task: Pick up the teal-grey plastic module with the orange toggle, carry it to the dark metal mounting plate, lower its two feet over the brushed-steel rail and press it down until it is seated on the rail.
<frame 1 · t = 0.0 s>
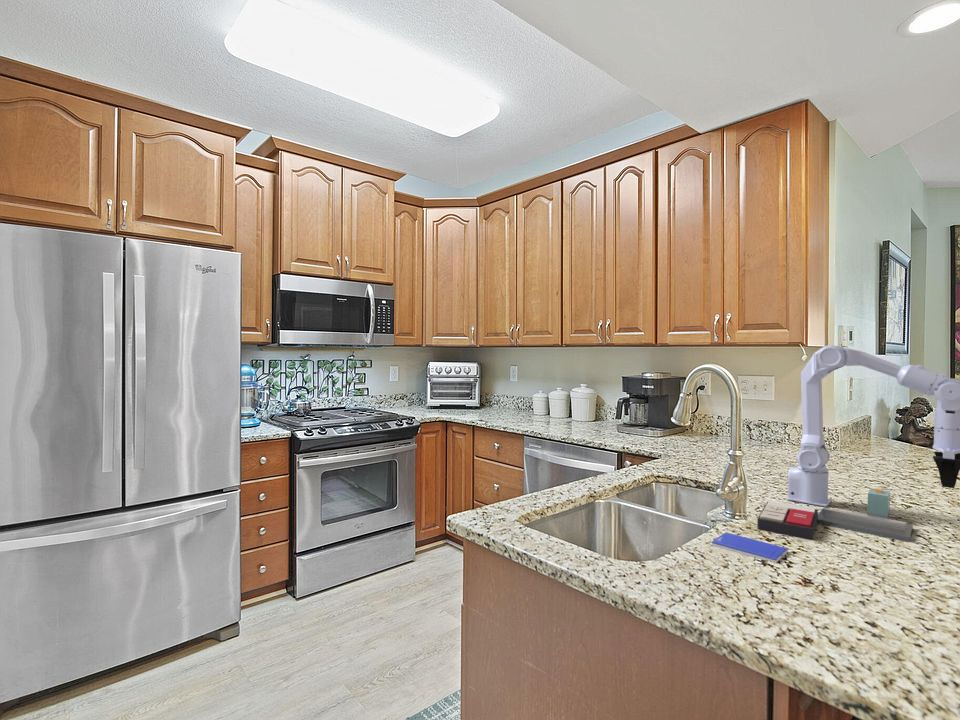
hand: (948, 484, 124), 10 cm above the worktop, fingers open, 7 cm apart
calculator: (787, 528, 123), on the worktop
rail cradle: (862, 525, 124), on the worktop
hard drive: (749, 552, 108), on the worktop
module: (878, 516, 131), on the worktop
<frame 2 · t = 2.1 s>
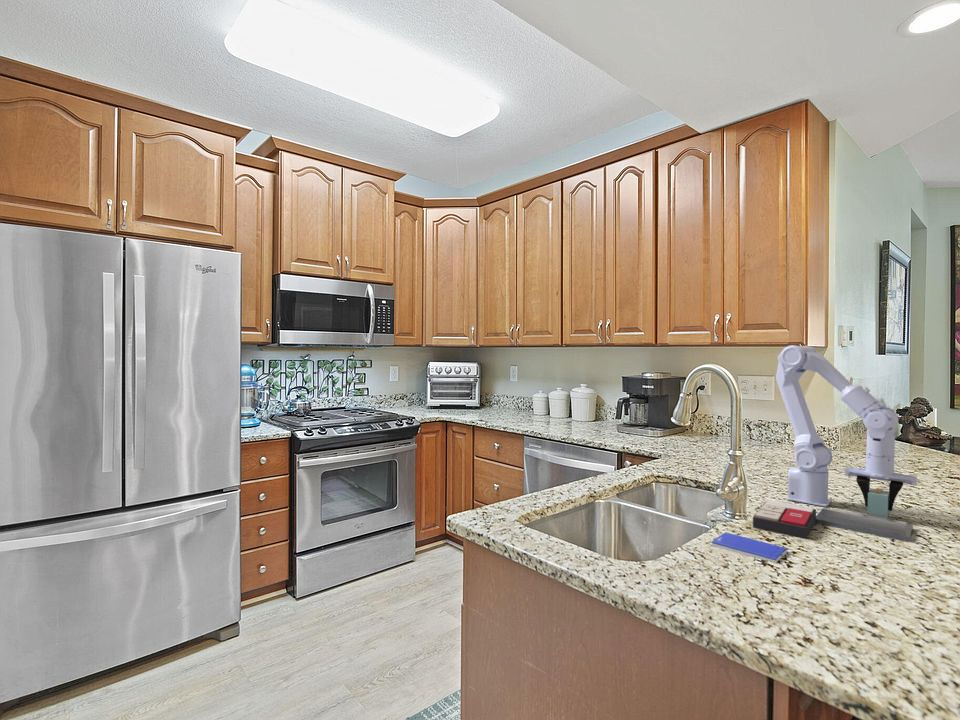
hand: (878, 508, 131), 2 cm above the worktop, fingers closed on module, 4 cm apart
module: (878, 516, 131), on the worktop, touching gripper
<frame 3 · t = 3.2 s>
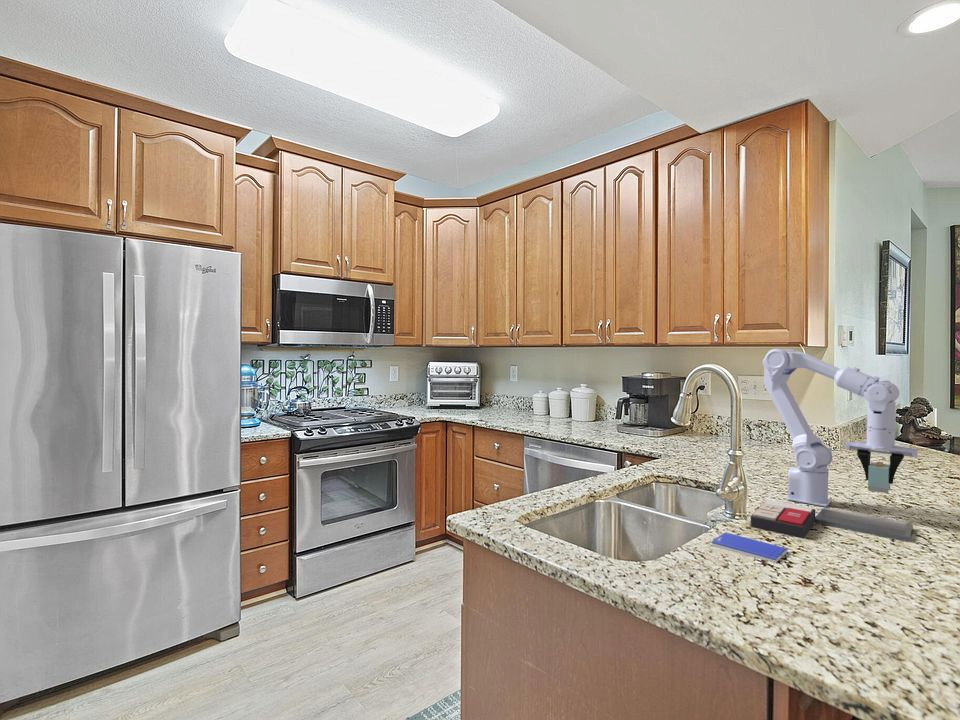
hand: (879, 481, 131), 9 cm above the worktop, fingers closed on module, 4 cm apart
module: (879, 489, 131), point 7 cm above the worktop, touching gripper
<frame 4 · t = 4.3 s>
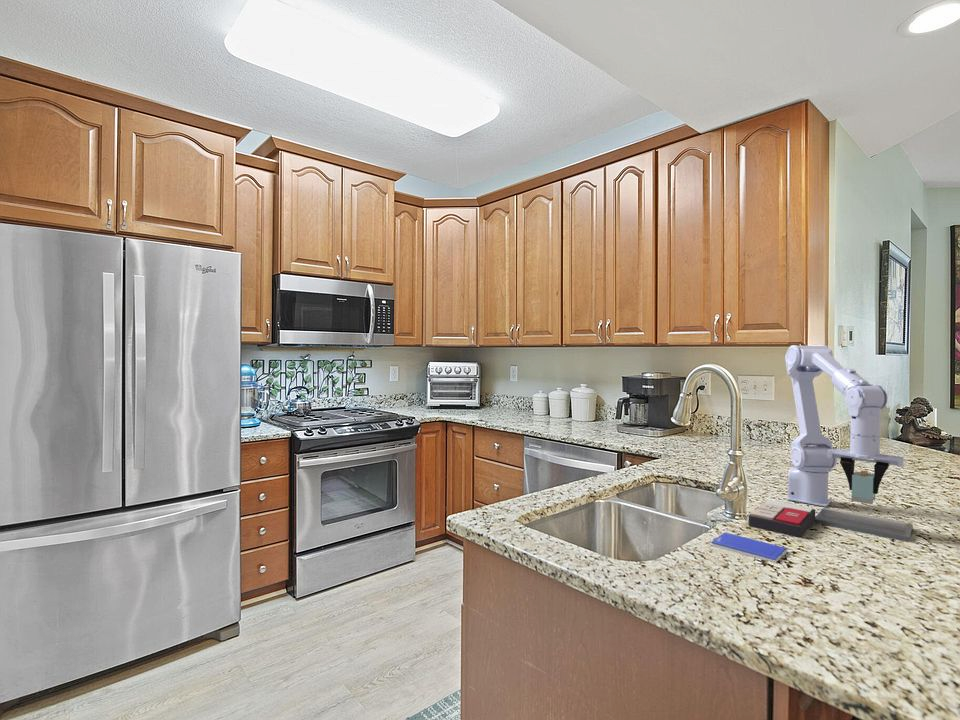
hand: (863, 491, 123), 8 cm above the worktop, fingers closed on module, 4 cm apart
module: (863, 500, 124), point 6 cm above the worktop, touching gripper
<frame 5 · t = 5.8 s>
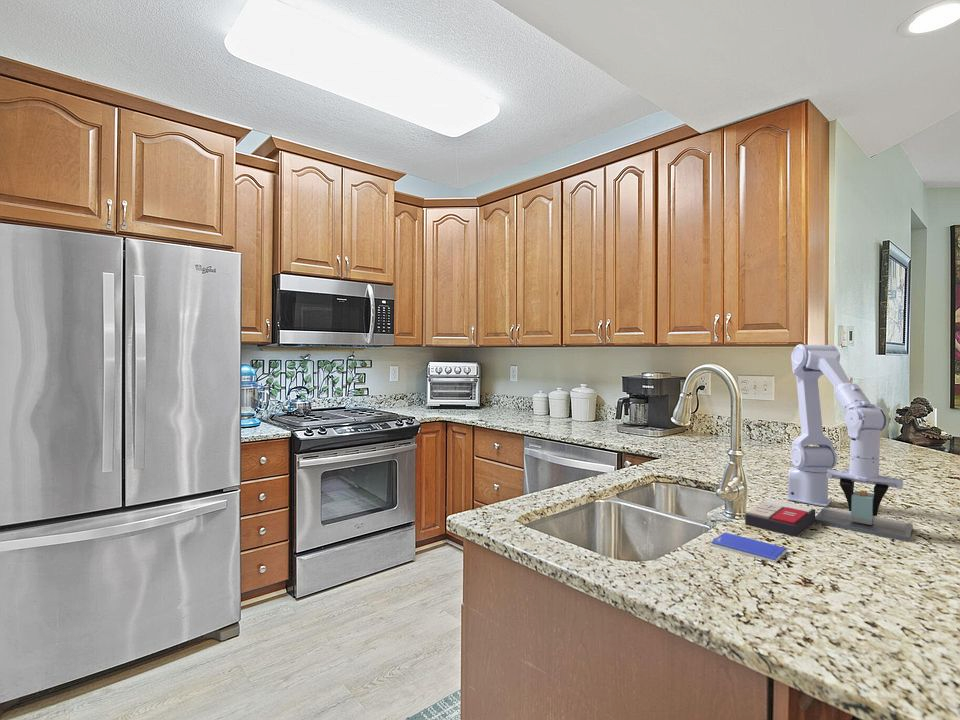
hand: (863, 512, 124), 3 cm above the worktop, fingers closed on module, 4 cm apart
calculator: (780, 526, 125), on the worktop, touching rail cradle
module: (863, 520, 124), point 1 cm above the worktop, touching gripper, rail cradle
everything else where it was.
when the fingers open (3 cm above the worktop, at t = 6.8 s): module stays where it is, resting on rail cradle.
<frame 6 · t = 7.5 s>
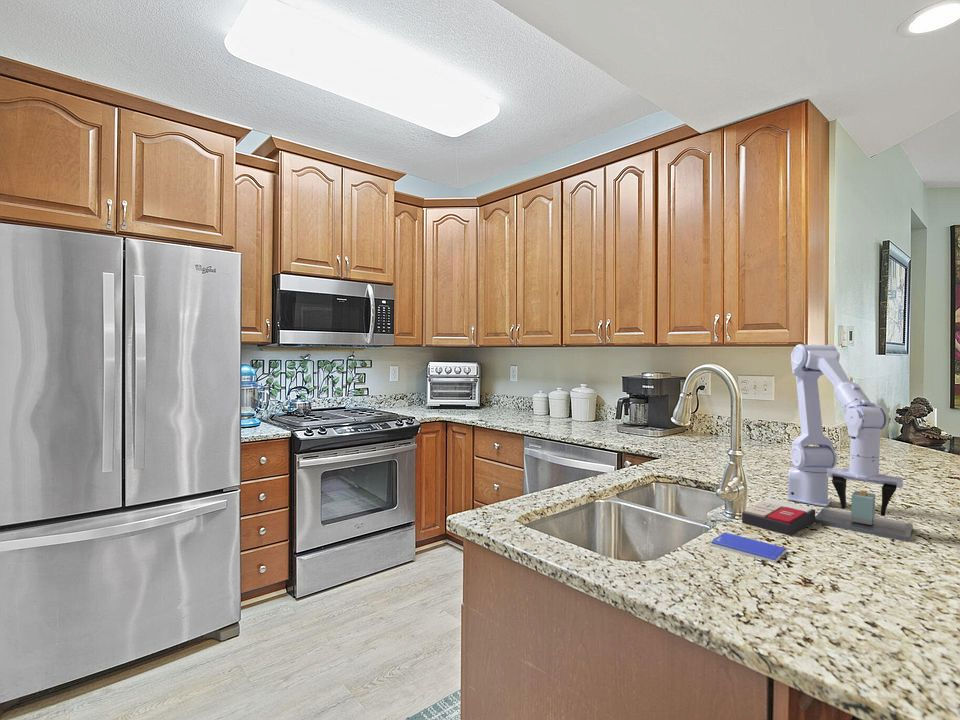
hand: (862, 511, 124), 3 cm above the worktop, fingers open, 7 cm apart
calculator: (778, 525, 125), on the worktop
module: (863, 520, 124), point 1 cm above the worktop, touching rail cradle
everything else where it was.
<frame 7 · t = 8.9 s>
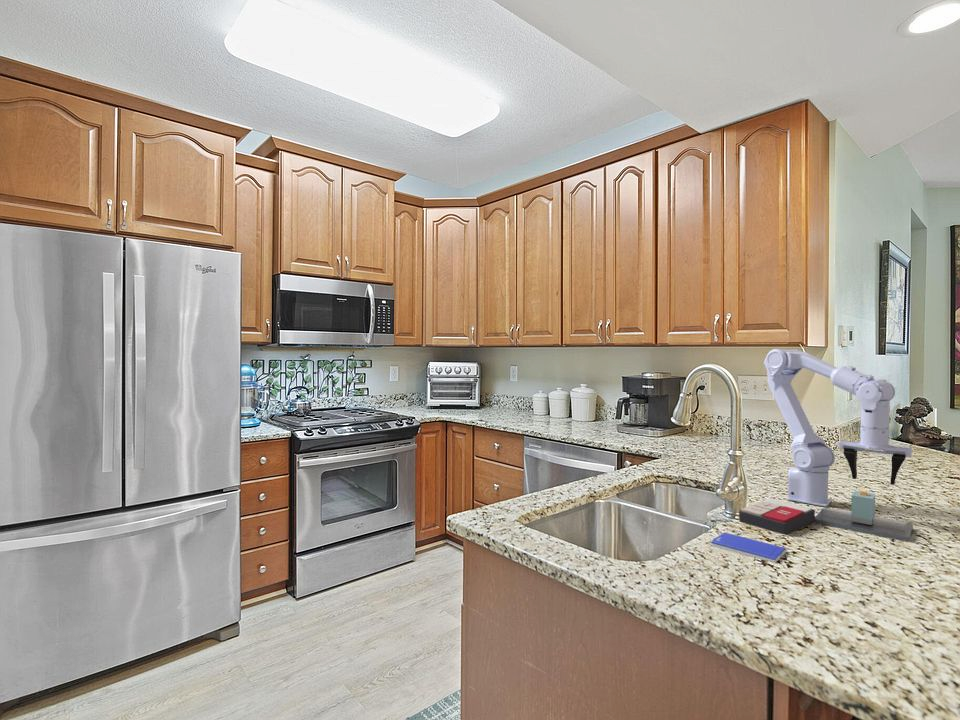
hand: (873, 481, 129), 9 cm above the worktop, fingers open, 7 cm apart
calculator: (776, 524, 125), on the worktop, touching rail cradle
everything else where it was.
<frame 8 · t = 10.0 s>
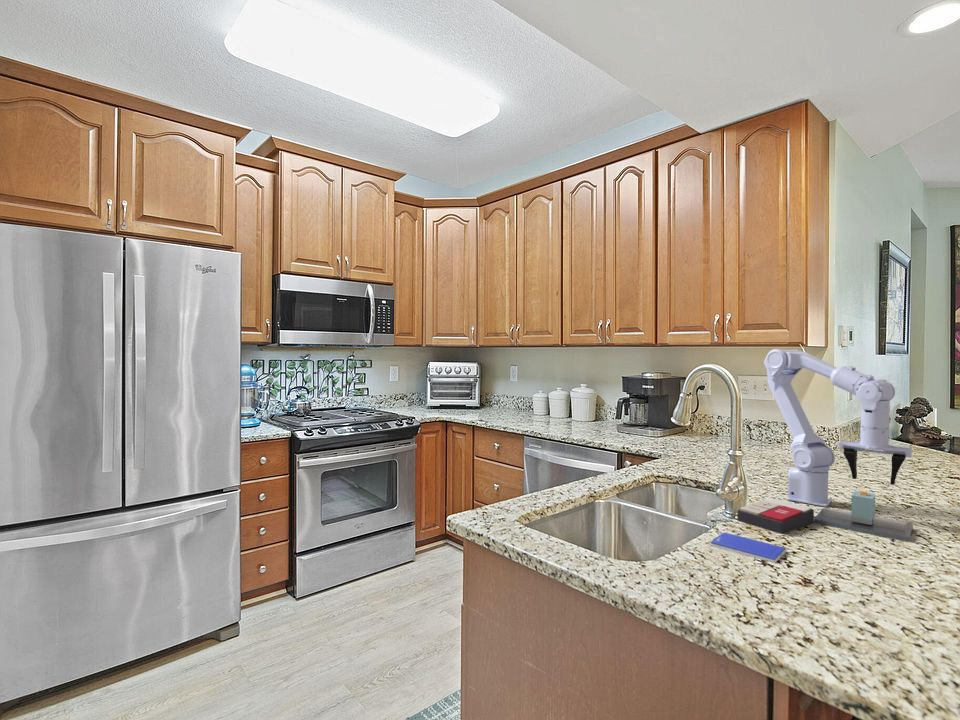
hand: (873, 481, 129), 9 cm above the worktop, fingers open, 7 cm apart
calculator: (775, 523, 126), on the worktop
everything else where it was.
at the end: module 0.2 cm off-centre on the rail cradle, point 1.3 cm above the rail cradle's base; module tilted 0°; the gripper is holding nothing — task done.
